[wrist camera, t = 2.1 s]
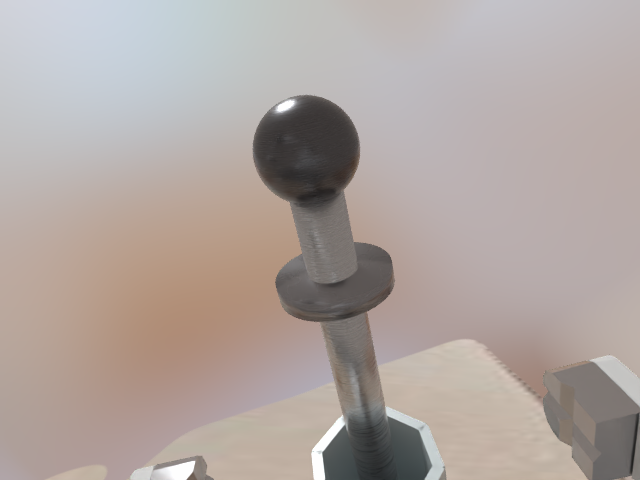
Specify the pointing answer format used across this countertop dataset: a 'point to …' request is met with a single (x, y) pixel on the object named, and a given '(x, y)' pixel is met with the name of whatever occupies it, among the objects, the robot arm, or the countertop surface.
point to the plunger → (331, 261)
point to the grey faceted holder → (408, 443)
